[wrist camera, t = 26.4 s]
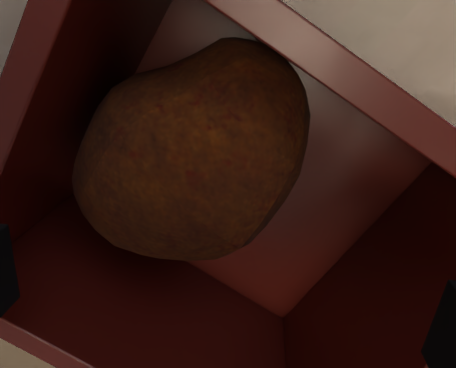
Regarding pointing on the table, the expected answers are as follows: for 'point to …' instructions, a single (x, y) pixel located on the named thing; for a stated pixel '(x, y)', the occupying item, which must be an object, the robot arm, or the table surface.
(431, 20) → the table surface
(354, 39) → the table surface
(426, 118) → the red box
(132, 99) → the potato
